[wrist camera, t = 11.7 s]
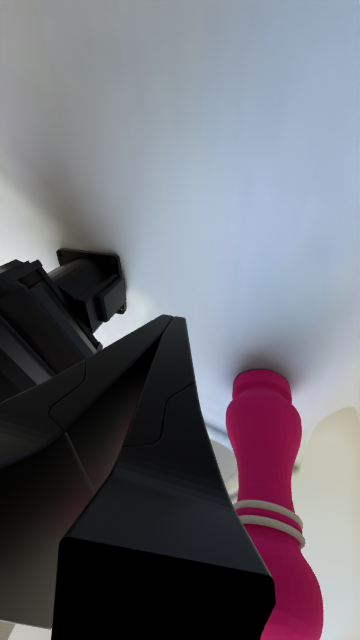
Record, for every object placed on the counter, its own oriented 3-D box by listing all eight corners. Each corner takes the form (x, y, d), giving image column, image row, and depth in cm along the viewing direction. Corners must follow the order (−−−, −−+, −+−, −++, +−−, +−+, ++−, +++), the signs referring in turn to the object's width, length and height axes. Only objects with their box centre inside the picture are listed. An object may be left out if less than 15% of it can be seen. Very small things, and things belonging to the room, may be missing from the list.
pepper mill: (304, 401, 27) (379, 755, 11) (245, 411, 30) (238, 690, 15) (279, 357, 24) (331, 739, 8) (218, 374, 28) (173, 665, 12)
